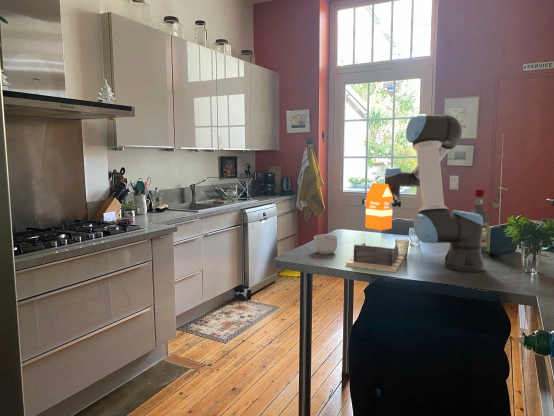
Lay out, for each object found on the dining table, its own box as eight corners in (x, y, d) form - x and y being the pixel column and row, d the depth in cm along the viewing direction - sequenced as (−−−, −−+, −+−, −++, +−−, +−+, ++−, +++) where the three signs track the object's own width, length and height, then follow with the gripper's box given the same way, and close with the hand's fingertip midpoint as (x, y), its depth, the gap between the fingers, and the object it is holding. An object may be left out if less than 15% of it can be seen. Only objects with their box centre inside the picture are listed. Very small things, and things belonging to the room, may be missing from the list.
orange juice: (375, 225, 190) (377, 182, 187) (391, 228, 183) (393, 183, 180) (364, 227, 185) (366, 183, 182) (380, 230, 178) (382, 184, 175)
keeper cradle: (395, 272, 159) (396, 251, 158) (346, 265, 168) (346, 245, 167) (404, 259, 179) (405, 241, 178) (359, 254, 188) (360, 236, 187)
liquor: (460, 248, 204) (465, 188, 200) (476, 247, 206) (480, 188, 202) (474, 252, 195) (479, 190, 191) (489, 251, 197) (495, 190, 194)
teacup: (335, 256, 184) (336, 239, 183) (312, 255, 186) (312, 237, 185) (337, 249, 197) (338, 233, 196) (315, 248, 199) (315, 232, 198)
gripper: (411, 209, 194) (403, 214, 174) (364, 206, 204) (351, 211, 184) (412, 193, 193) (404, 197, 173) (364, 191, 203) (352, 194, 183)
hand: (377, 204), depth 179 cm, fingers closed on orange juice, 10 cm apart
